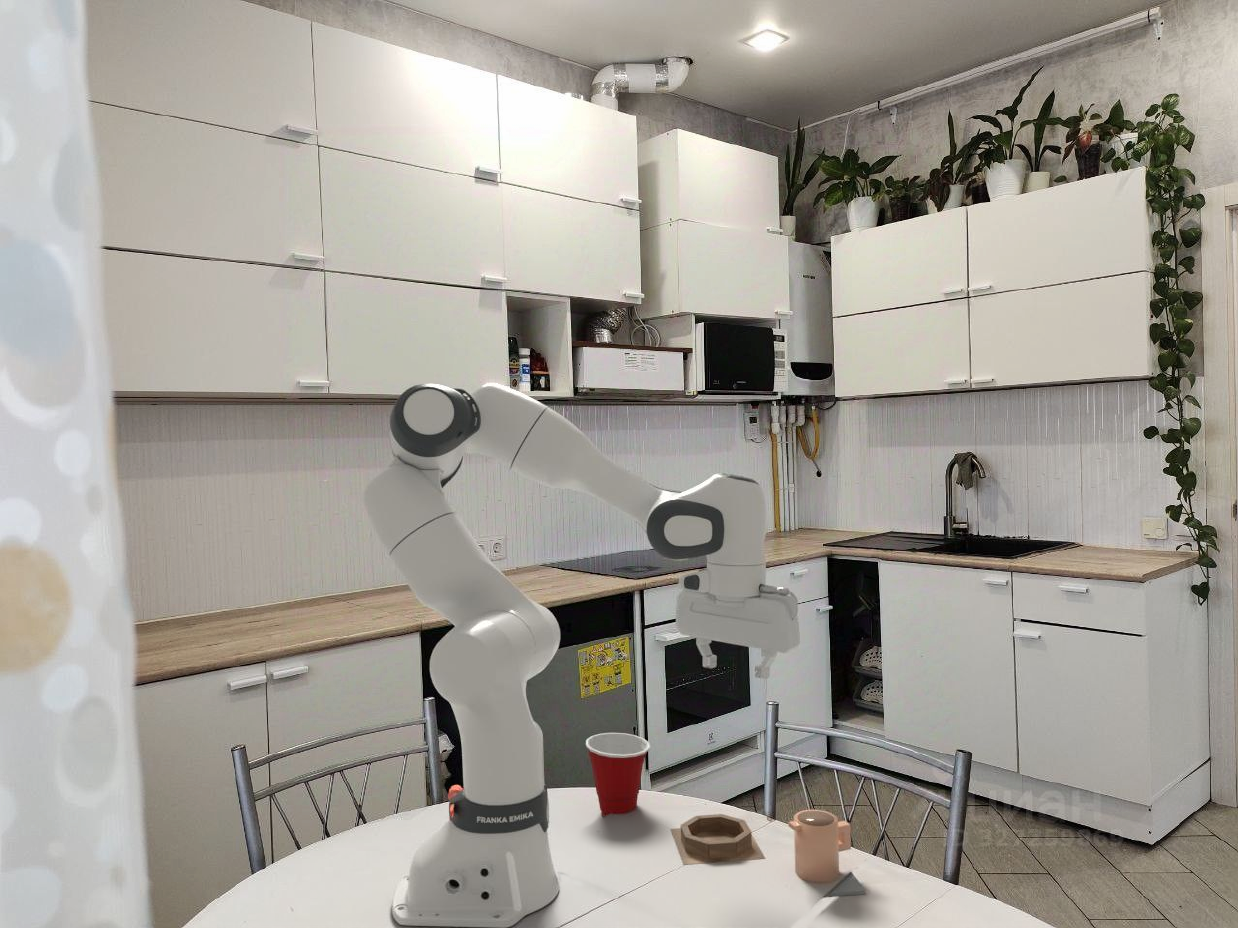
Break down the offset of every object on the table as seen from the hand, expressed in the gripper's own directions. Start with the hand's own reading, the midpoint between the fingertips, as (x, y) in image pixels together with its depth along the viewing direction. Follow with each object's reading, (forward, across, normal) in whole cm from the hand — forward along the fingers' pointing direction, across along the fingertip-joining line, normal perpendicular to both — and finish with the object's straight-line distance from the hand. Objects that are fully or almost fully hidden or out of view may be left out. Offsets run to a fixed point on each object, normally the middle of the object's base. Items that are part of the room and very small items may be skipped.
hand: (735, 672), depth 132 cm
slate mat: (+26, -15, +2) cm, 30 cm away
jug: (+26, -15, +2) cm, 30 cm away
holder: (+27, +2, +3) cm, 27 cm away
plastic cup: (+28, +22, +1) cm, 35 cm away
